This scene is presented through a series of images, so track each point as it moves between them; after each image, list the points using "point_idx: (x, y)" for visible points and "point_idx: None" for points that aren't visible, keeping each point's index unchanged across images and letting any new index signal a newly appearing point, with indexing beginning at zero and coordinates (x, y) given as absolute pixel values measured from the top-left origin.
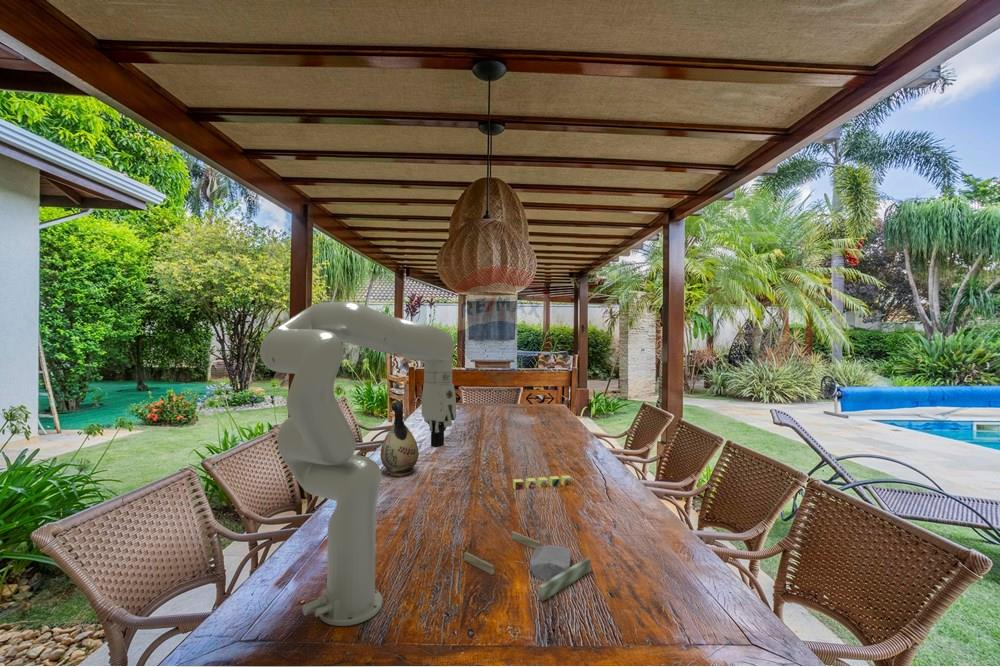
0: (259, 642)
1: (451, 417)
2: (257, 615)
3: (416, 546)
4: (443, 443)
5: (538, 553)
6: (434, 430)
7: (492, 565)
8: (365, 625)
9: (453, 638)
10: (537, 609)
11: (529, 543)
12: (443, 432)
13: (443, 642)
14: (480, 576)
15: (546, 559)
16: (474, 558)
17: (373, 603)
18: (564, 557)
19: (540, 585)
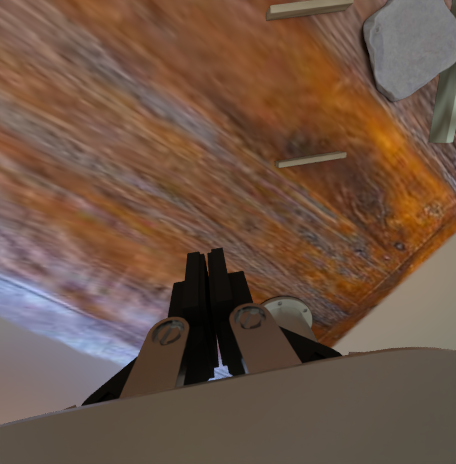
0: None
1: (388, 388)
2: None
3: (182, 206)
4: (223, 253)
5: (382, 49)
6: (209, 369)
7: (344, 154)
8: (314, 318)
9: (392, 263)
10: (436, 159)
11: (321, 10)
12: (231, 296)
13: (388, 273)
14: (328, 172)
15: (420, 67)
16: (304, 163)
17: (298, 310)
18: (446, 27)
19: (447, 140)
